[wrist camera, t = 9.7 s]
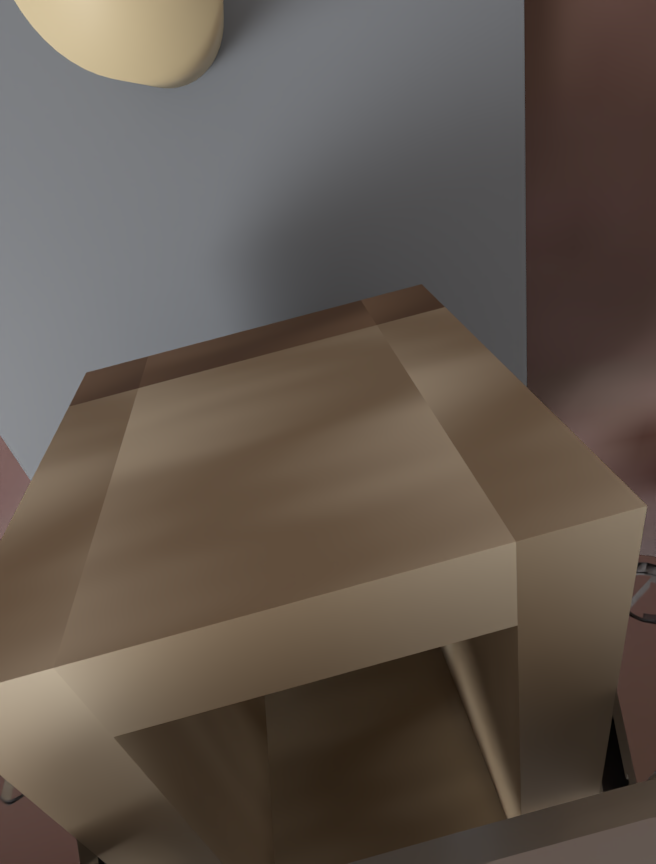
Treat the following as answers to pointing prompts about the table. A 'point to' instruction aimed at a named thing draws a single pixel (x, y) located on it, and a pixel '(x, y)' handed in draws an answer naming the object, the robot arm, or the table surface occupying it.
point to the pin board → (247, 177)
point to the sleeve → (311, 597)
